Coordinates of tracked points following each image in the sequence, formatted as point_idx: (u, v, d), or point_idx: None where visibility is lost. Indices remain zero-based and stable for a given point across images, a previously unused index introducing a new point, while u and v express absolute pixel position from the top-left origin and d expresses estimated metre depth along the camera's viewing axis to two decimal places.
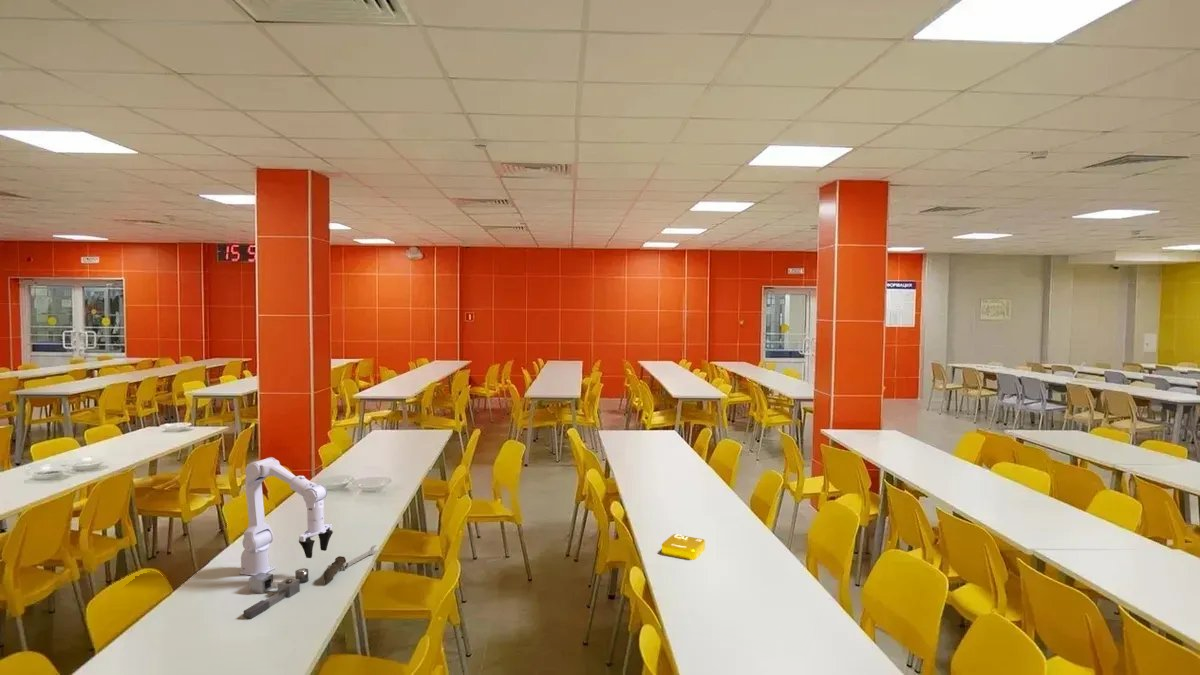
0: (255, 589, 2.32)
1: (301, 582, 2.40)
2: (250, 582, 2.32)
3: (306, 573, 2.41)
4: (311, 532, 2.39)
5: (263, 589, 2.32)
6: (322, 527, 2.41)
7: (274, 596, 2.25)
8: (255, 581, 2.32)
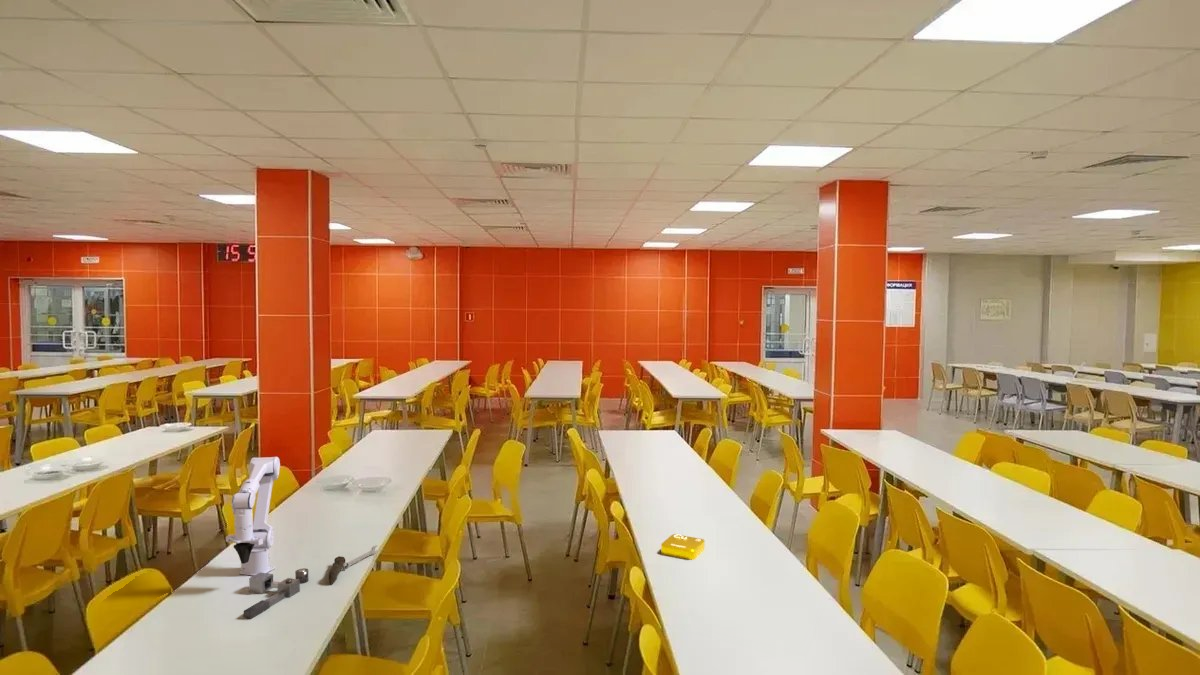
0: (255, 589, 2.32)
1: (301, 582, 2.40)
2: (250, 582, 2.32)
3: (306, 573, 2.41)
4: None
5: (263, 589, 2.32)
6: (238, 537, 2.33)
7: (274, 596, 2.25)
8: (255, 581, 2.32)
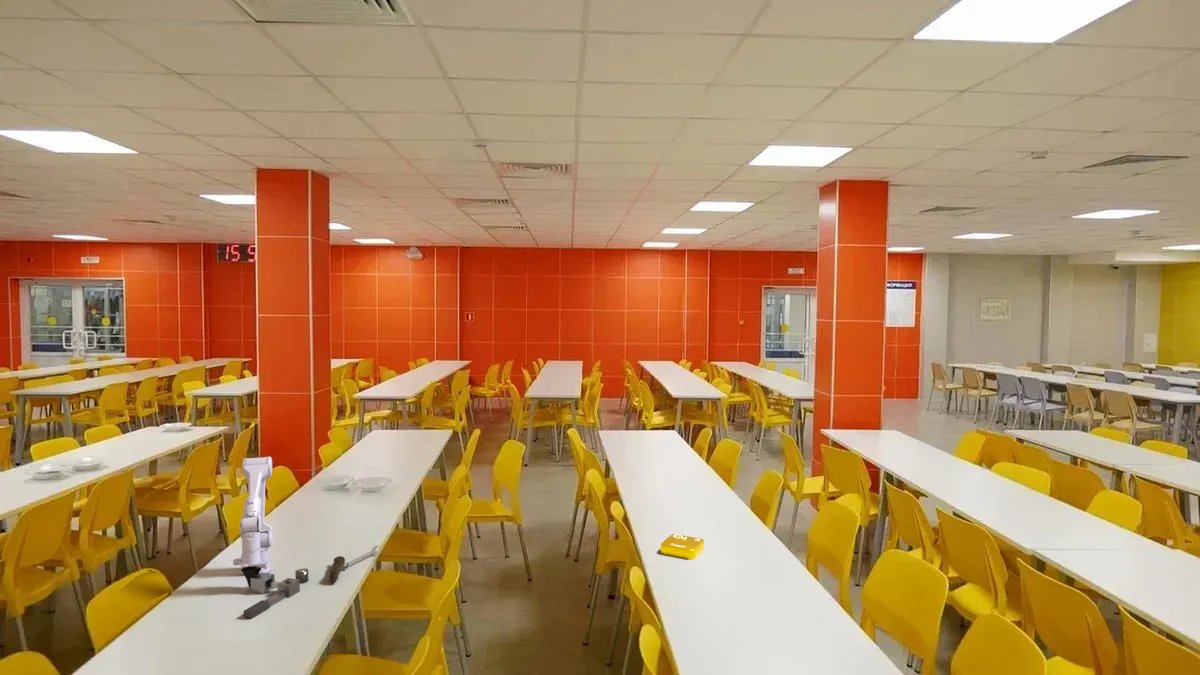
0: (256, 589, 2.32)
1: (301, 582, 2.40)
2: (251, 582, 2.32)
3: (306, 573, 2.41)
4: None
5: (264, 589, 2.32)
6: (246, 561, 2.32)
7: (274, 596, 2.25)
8: (256, 581, 2.32)
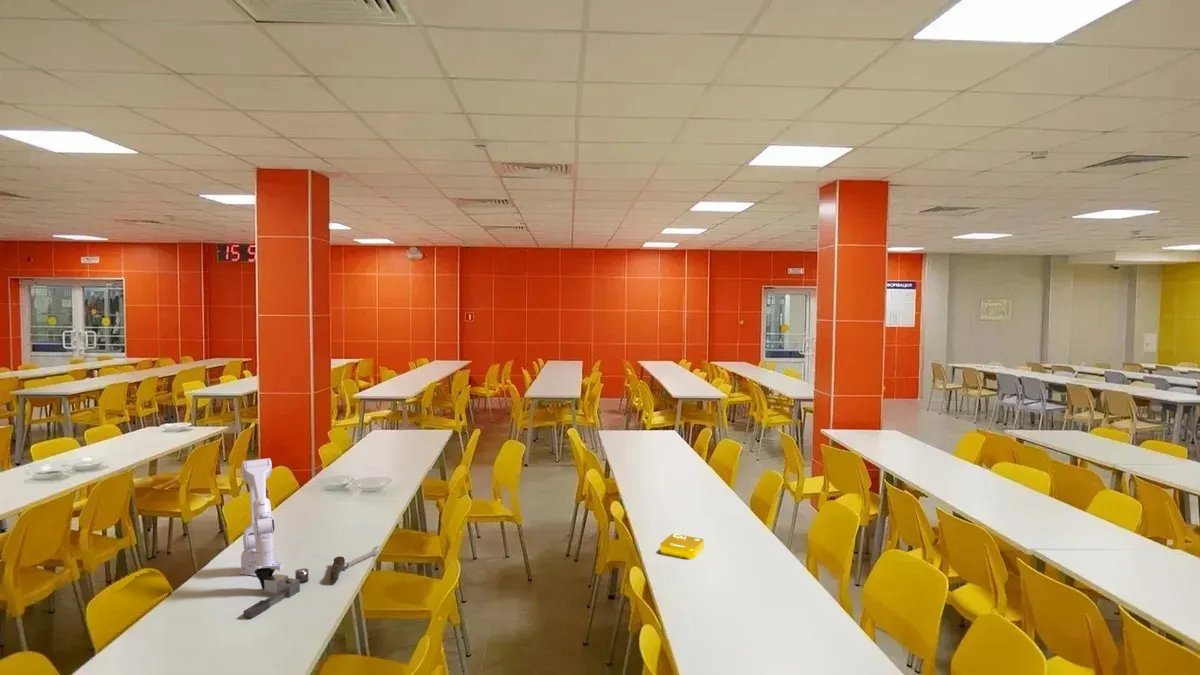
0: (270, 591, 2.30)
1: (301, 582, 2.40)
2: (265, 584, 2.31)
3: (306, 573, 2.41)
4: None
5: None
6: (259, 562, 2.31)
7: (274, 596, 2.25)
8: (270, 583, 2.30)
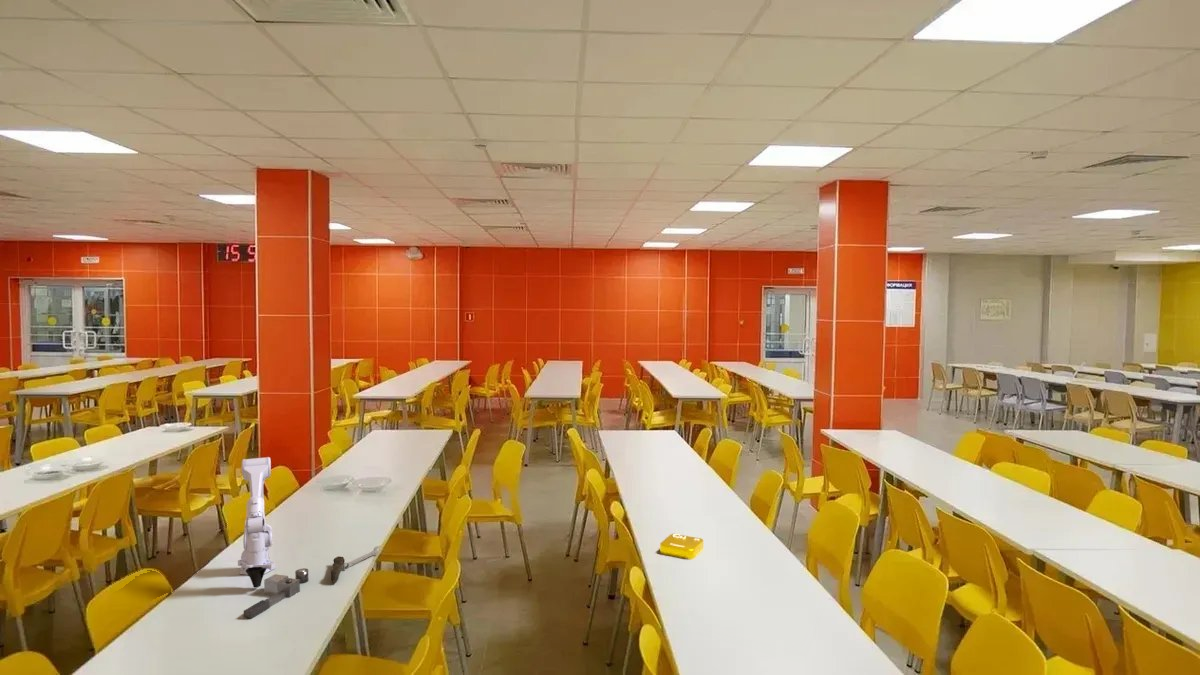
0: (270, 591, 2.30)
1: (301, 582, 2.40)
2: (265, 584, 2.31)
3: (306, 573, 2.41)
4: None
5: None
6: (250, 561, 2.32)
7: (274, 596, 2.25)
8: (270, 583, 2.30)
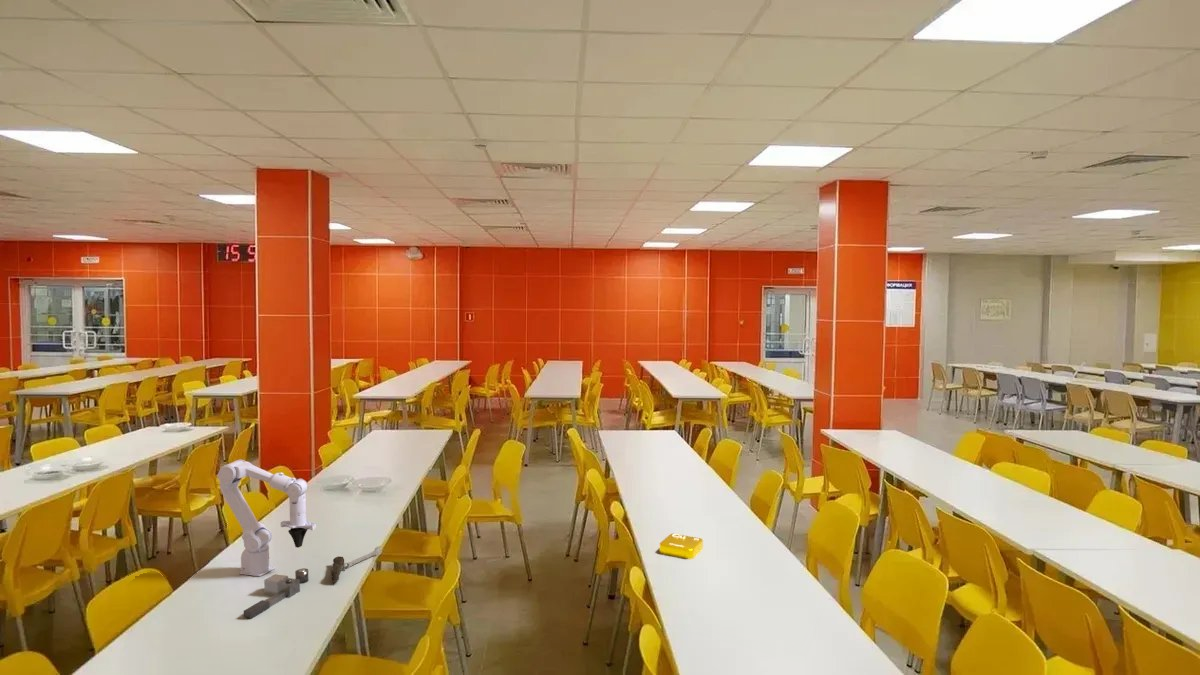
0: (270, 591, 2.30)
1: (301, 582, 2.40)
2: (265, 584, 2.31)
3: (306, 573, 2.41)
4: None
5: None
6: (293, 522, 2.47)
7: (274, 596, 2.25)
8: (270, 583, 2.30)
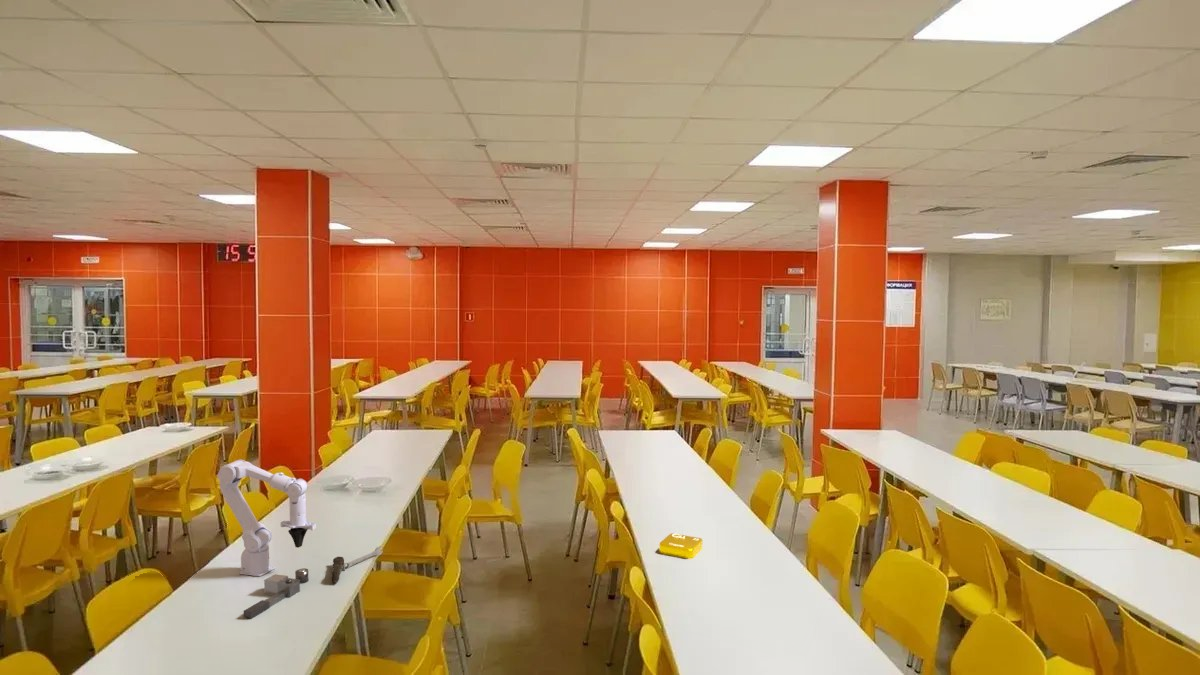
0: (270, 591, 2.30)
1: (301, 582, 2.40)
2: (265, 584, 2.31)
3: (306, 573, 2.41)
4: None
5: None
6: (293, 522, 2.47)
7: (274, 596, 2.25)
8: (270, 583, 2.30)
